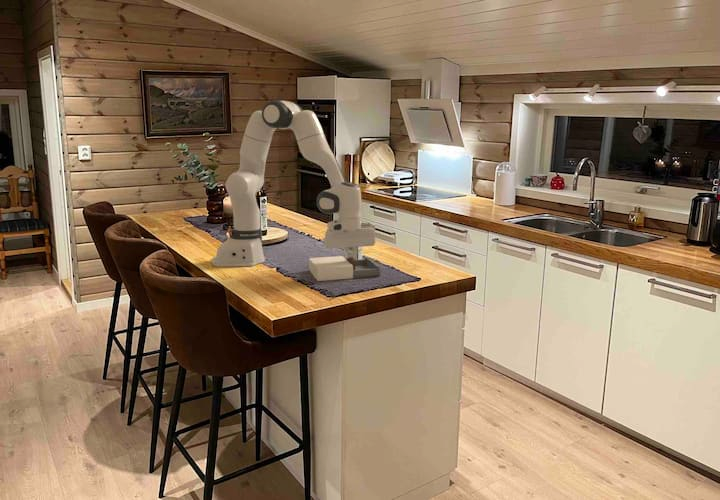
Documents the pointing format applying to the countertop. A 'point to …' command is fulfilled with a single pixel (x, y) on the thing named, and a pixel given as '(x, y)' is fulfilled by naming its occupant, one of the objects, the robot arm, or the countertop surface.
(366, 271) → the charcoal box
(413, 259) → the countertop surface
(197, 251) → the countertop surface
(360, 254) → the syrup box
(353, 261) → the walnut tile
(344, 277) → the cream square block
